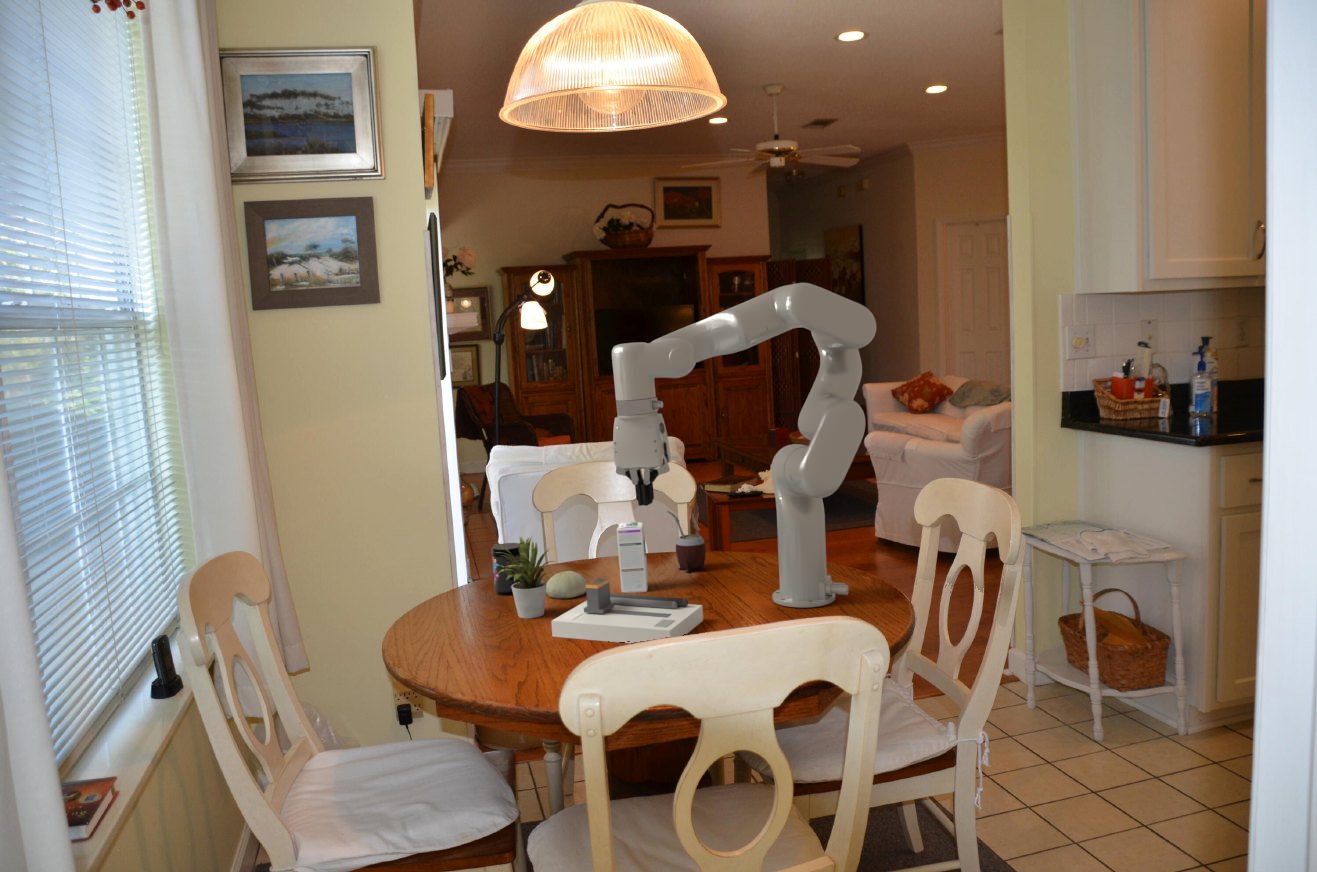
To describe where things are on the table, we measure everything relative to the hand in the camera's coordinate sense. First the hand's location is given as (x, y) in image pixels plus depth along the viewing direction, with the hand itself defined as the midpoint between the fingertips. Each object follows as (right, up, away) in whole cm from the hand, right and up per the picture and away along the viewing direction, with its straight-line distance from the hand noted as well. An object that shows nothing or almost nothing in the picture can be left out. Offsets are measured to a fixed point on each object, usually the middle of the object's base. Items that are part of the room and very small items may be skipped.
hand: (645, 504), depth 177 cm
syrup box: (-3, -21, +27) cm, 34 cm away
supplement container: (-31, -22, +31) cm, 49 cm away
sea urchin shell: (-18, -22, +26) cm, 38 cm away
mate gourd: (+10, -19, +41) cm, 46 cm away
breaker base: (-3, -23, -1) cm, 24 cm away
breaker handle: (-9, -20, +1) cm, 22 cm away
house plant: (-24, -23, +13) cm, 36 cm away
